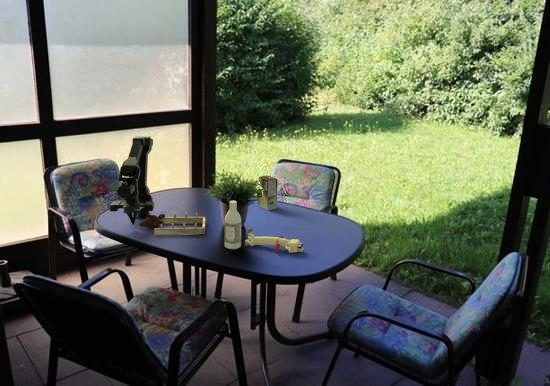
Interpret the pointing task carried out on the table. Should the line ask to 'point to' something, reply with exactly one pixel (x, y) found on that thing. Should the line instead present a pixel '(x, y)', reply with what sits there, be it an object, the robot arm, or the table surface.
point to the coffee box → (268, 193)
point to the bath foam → (233, 227)
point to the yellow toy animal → (274, 242)
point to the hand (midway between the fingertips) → (133, 224)
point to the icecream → (152, 221)
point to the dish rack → (183, 230)
